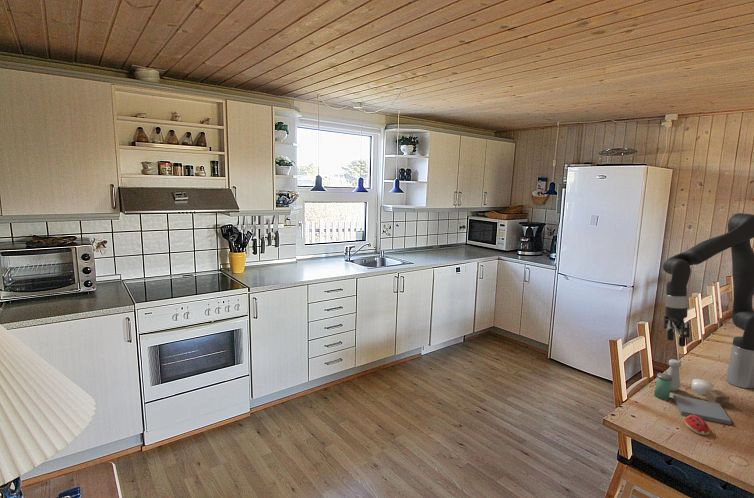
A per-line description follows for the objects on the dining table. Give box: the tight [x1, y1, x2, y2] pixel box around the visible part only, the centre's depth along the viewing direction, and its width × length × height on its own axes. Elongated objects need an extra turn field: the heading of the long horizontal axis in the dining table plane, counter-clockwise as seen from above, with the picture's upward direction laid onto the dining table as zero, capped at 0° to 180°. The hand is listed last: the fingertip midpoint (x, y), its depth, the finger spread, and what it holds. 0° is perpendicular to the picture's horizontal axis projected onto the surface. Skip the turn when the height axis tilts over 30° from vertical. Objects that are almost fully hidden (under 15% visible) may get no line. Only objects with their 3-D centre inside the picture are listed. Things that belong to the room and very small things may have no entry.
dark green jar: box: [653, 372, 672, 401], centre depth 169 cm, size 5×5×9 cm
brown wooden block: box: [705, 389, 730, 407], centre depth 166 cm, size 5×5×4 cm
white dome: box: [690, 378, 714, 397], centre depth 174 cm, size 7×7×4 cm
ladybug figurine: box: [683, 415, 711, 436], centre depth 149 cm, size 7×10×4 cm
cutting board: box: [672, 394, 732, 426], centre depth 160 cm, size 15×13×2 cm
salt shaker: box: [666, 358, 682, 393], centre depth 175 cm, size 6×6×13 cm
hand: (676, 343), depth 176 cm, fingers open, 8 cm apart
